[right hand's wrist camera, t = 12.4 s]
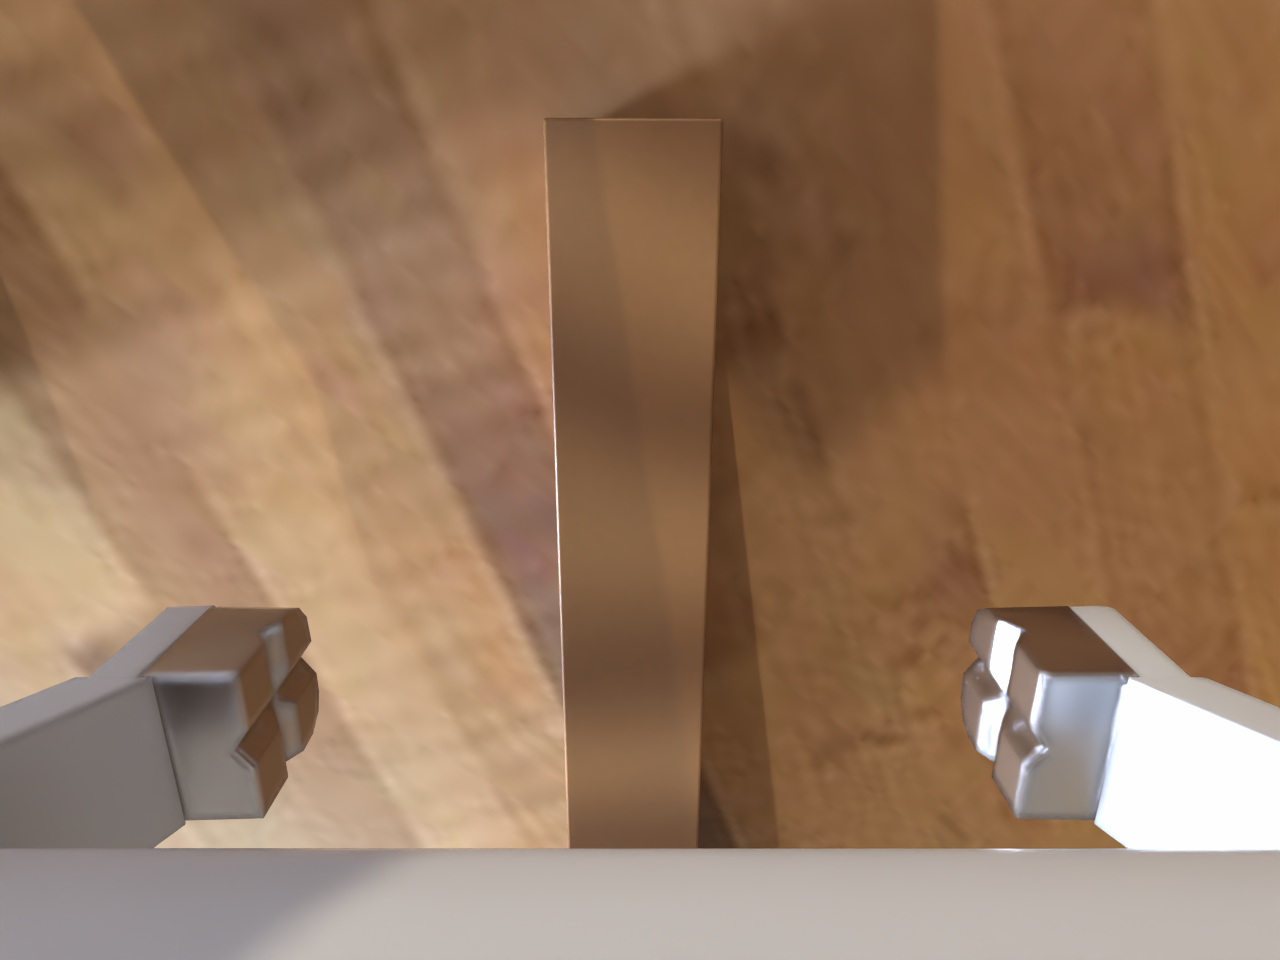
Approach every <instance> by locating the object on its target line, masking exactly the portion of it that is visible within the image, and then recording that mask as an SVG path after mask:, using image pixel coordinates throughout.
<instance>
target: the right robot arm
mask: <svg viewBox="0 0 1280 960" xmlns="http://www.w3.org/2000/svg"><path fill="white" fill-rule="evenodd" d="M310 642H311V637H310V632H309V627H308V622H307V617H306V616H305V614H304V613H303V612H302V611H301V610H300V609H299V608H275V607H221V606H220V607H215V606H213V605H212V606H179V607H168V608H166V609H165V610H164V611H163V612H162V613H161V614H160V615H159V616H157V617H156V618H155V619H154V620H153V621H152V622H151V623H150V624H148V625H147V626H146V627H145V628H144V629H143V630H142V631H141V632H139V633H138V634H137V635H136V636H135V637H134V638H133V639H132V640H131V641H129V642H128V643H127V644H126V645H125V646H124V647H123V648H122V649H120V650H119V651H118V652H117V653H116V654H115V655H114V656H113V657H111V658H110V659H109V660H108V661H107V662H106V663H105V664H104V665H103V666H101V667H100V668H99V669H98V670H97V671H96V672H95V673H94V674H92V675H91V676H90V677H75V678H73V679H70V680H68V681H65V682H63V683H60V684H58V685H55V686H53V687H50V688H48V689H45V690H43V691H40V692H37V693H35V694H32V695H30V696H27V697H25V698H22V699H20V700H17V701H15V702H12V703H10V704H7V705H5V706H2V707H0V960H1280V707H1277V706H1275V705H1272V704H1270V703H1267V702H1265V701H1262V700H1260V699H1257V698H1255V697H1252V696H1250V695H1247V694H1245V693H1242V692H1240V691H1237V690H1235V689H1232V688H1230V687H1227V686H1225V685H1222V684H1220V683H1217V682H1215V681H1212V680H1210V679H1207V678H1205V677H1190V676H1189V675H1188V674H1186V673H1185V672H1184V671H1183V670H1182V669H1181V668H1180V667H1179V666H1178V665H1176V664H1175V663H1174V662H1173V661H1172V660H1171V659H1170V658H1169V657H1168V656H1166V655H1165V654H1164V653H1163V652H1162V651H1161V650H1160V649H1159V648H1157V647H1156V646H1155V645H1154V644H1153V643H1152V642H1151V641H1150V640H1149V639H1147V638H1146V637H1145V636H1144V635H1143V634H1142V633H1141V632H1140V631H1139V630H1137V629H1136V628H1135V627H1134V626H1133V625H1132V624H1131V623H1130V622H1128V621H1127V620H1126V619H1125V618H1124V617H1123V616H1122V615H1121V614H1120V613H1118V612H1117V611H1116V610H1115V609H1114V608H1110V607H1107V606H1103V605H1099V606H1077V607H1068V606H1056V607H1014V608H986V609H980V610H977V612H976V614H975V617H974V619H973V621H972V625H971V631H970V637H969V642H970V644H971V645H972V647H973V648H974V650H975V651H976V653H977V655H978V656H979V657H978V659H977V660H976V661H975V662H974V663H973V664H972V665H971V666H970V667H969V668H968V669H967V670H966V671H965V672H964V675H963V683H962V692H961V704H962V714H963V721H964V724H965V727H966V731H967V734H968V736H969V738H970V740H971V742H972V744H973V745H974V747H975V749H976V751H978V752H979V753H981V754H983V755H984V756H986V757H987V758H989V759H991V760H992V761H994V767H993V773H992V778H993V780H994V781H995V783H996V785H997V786H998V788H999V790H1000V791H1001V793H1002V795H1003V796H1004V798H1005V800H1006V801H1007V803H1008V805H1009V806H1010V808H1011V810H1012V811H1013V813H1014V815H1015V816H1016V818H1025V819H1062V820H1095V822H1094V824H1095V825H1097V826H1098V827H1099V828H1101V829H1102V830H1103V831H1105V832H1106V833H1107V834H1109V835H1110V836H1111V837H1113V838H1114V839H1116V840H1117V841H1118V842H1120V843H1121V844H1122V845H1124V846H1125V847H1126V848H1128V849H513V848H154V847H155V846H157V845H158V844H159V843H161V842H162V841H163V840H165V839H166V838H167V837H169V836H170V835H172V834H173V833H174V832H176V831H177V830H178V829H180V828H181V827H182V826H184V825H185V820H217V819H252V818H264V816H265V815H266V813H267V811H268V810H269V808H270V806H271V805H272V803H273V801H274V800H275V798H276V796H277V795H278V793H279V791H280V790H281V788H282V786H283V785H284V783H285V781H286V780H287V778H288V773H287V767H286V761H288V760H289V759H291V758H293V757H294V756H296V755H297V754H299V753H301V752H302V751H304V749H305V747H306V745H307V743H308V742H309V740H310V738H311V736H312V734H313V731H314V727H315V723H316V719H317V715H318V709H319V689H318V682H317V675H316V672H315V671H314V670H313V669H312V668H311V667H310V666H309V665H308V664H307V663H306V662H305V661H304V660H303V659H302V657H301V656H302V655H303V653H304V651H305V650H306V648H307V647H308V645H309V644H310Z"/></svg>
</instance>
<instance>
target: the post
mask: <svg viewBox="0 0 1280 960" xmlns="http://www.w3.org/2000/svg"><path fill="white" fill-rule="evenodd" d="M543 131H544V161H545V190H546V219H547V248H548V277H549V306H550V335H551V364H552V394H553V423H554V452H555V481H556V510H557V539H558V568H559V597H560V626H561V656H562V685H563V714H564V743H565V772H566V801H567V830H568V849H698V835H699V806H700V777H701V749H702V720H703V691H704V662H705V634H706V605H707V576H708V547H709V519H710V490H711V461H712V432H713V403H714V375H715V346H716V317H717V288H718V260H719V231H720V202H721V173H722V145H723V120H722V119H720V118H545V119H544V121H543Z"/></svg>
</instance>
